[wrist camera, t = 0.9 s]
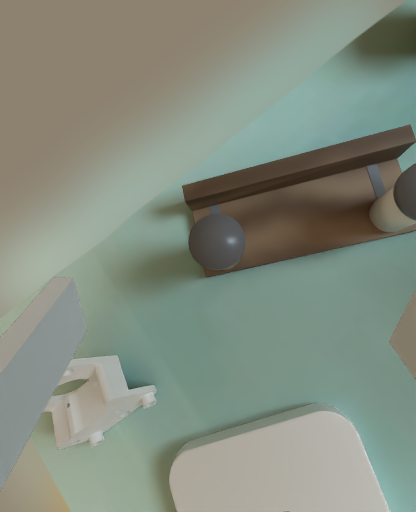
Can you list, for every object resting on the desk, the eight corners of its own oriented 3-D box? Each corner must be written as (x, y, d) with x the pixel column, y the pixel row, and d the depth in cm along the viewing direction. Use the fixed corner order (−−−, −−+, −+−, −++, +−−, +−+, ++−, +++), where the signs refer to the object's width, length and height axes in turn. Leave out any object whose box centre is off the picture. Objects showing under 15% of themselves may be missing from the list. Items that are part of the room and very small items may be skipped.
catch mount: (416, 230, 33) (444, 220, 28) (207, 277, 36) (200, 275, 31) (388, 147, 35) (410, 124, 30) (190, 199, 38) (182, 185, 33)
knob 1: (251, 269, 34) (250, 262, 26) (207, 278, 35) (194, 275, 27) (241, 226, 35) (237, 207, 27) (198, 236, 36) (183, 220, 28)
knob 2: (422, 230, 32) (478, 211, 24) (371, 242, 32) (409, 226, 25) (406, 185, 33) (455, 152, 25) (357, 197, 33) (390, 168, 25)
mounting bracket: (146, 354, 38) (90, 340, 30) (164, 398, 35) (105, 397, 26) (80, 404, 39) (5, 405, 30) (90, 452, 35) (8, 469, 26)
